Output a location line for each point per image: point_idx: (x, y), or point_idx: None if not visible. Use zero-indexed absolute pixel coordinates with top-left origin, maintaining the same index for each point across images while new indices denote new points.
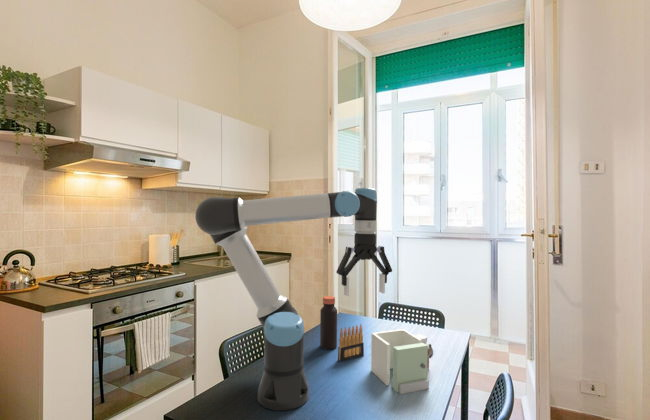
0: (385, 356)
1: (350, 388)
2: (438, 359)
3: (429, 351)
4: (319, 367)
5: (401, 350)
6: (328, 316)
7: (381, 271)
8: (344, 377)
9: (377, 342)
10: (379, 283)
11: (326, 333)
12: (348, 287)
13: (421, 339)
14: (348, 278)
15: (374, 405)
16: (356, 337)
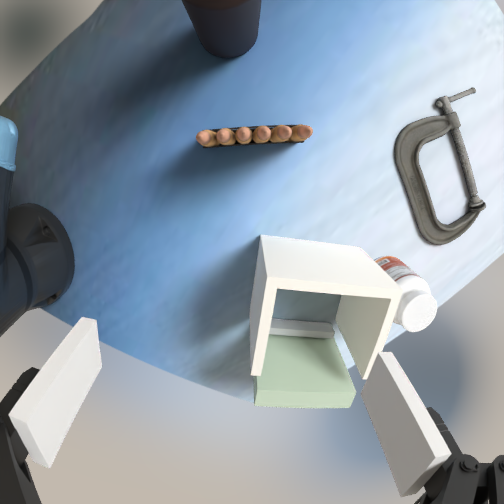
0: (251, 342)
1: (163, 287)
2: (448, 260)
3: (461, 226)
4: (134, 157)
5: (267, 404)
6: (198, 13)
7: (445, 480)
8: (172, 236)
9: (259, 311)
10: (400, 394)
11: (201, 35)
12: (76, 404)
13: (406, 329)
14: (49, 454)
15: (181, 354)
16: (276, 138)
